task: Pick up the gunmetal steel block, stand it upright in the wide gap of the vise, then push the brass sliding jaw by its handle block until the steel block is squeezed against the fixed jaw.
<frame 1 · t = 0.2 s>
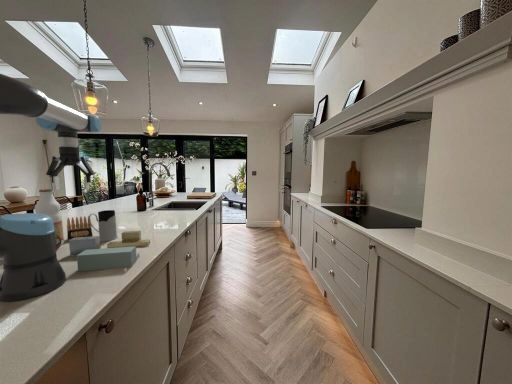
hand: (72, 189, 111), 27 cm above the worktop, tool pointing down, fingers open, 13 cm apart
ammunition clip: (80, 238, 121), on the worktop
grey mug: (103, 238, 120), on the worktop
tin: (41, 255, 97), on the worktop
sliding jaw: (130, 238, 109), point 3 cm above the worktop, slide at 0.0 cm
steel block: (85, 253, 99), on the worktop
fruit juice: (51, 245, 108), on the worktop
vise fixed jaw: (114, 260, 90), on the worktop
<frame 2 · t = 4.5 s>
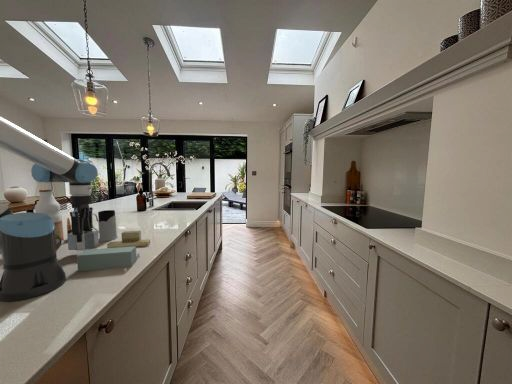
hand: (84, 247, 98), 3 cm above the worktop, tool pointing down, fingers closed on steel block, 4 cm apart
steel block: (84, 248, 98), point 3 cm above the worktop, touching gripper
everything else where it was.
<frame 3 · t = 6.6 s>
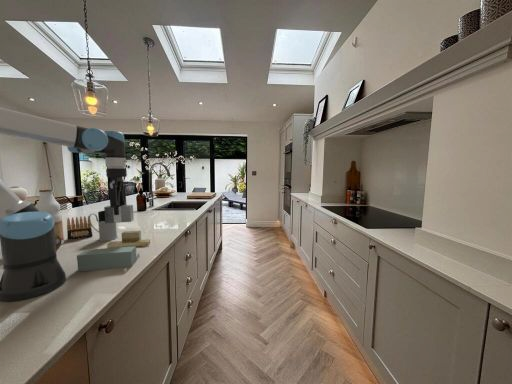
hand: (119, 220, 98), 15 cm above the worktop, tool pointing down, fingers closed on steel block, 4 cm apart
steel block: (119, 221, 98), point 14 cm above the worktop, touching gripper
everything else where it was.
when the fingers open (0 cm above the worktop, at t = 9.0 s): steel block stays where it is, on the worktop.
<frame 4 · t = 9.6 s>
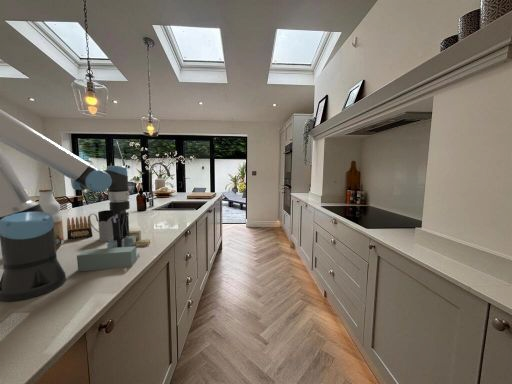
hand: (123, 251, 99), 0 cm above the worktop, tool pointing down, fingers open, 4 cm apart
steel block: (123, 252, 99), on the worktop
everything else where it was.
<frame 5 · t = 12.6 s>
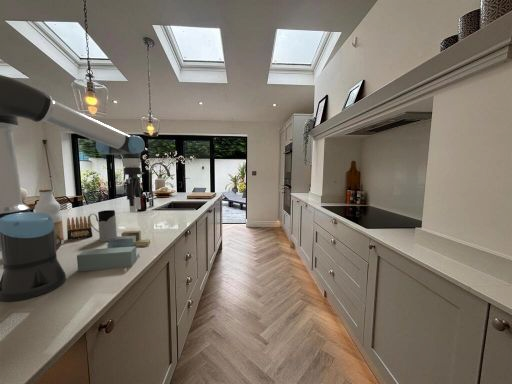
hand: (135, 210, 116), 16 cm above the worktop, tool pointing down, fingers open, 7 cm apart
nothing on the worktop moved.
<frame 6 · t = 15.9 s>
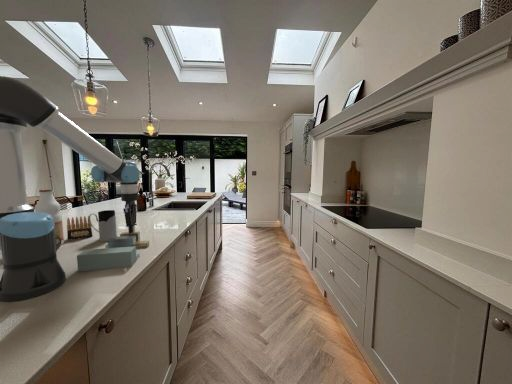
hand: (132, 238, 112), 2 cm above the worktop, tool pointing down, fingers closed
sliding jaw: (128, 240, 107), point 3 cm above the worktop, slide at 2.0 cm, touching gripper
everything else where it was.
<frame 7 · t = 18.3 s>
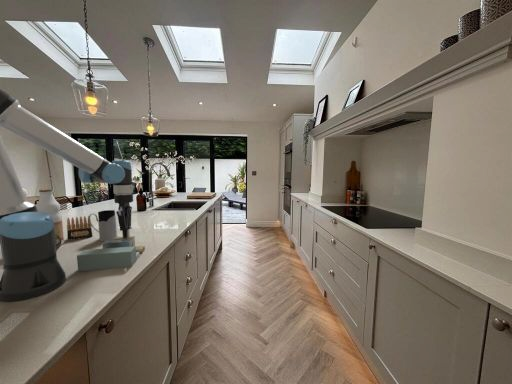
hand: (126, 243, 104), 2 cm above the worktop, tool pointing down, fingers closed
sliding jaw: (122, 245, 99), point 3 cm above the worktop, slide at 10.0 cm, touching gripper, steel block
steel block: (118, 256, 94), on the worktop, touching sliding jaw, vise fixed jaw
everything else where it was.
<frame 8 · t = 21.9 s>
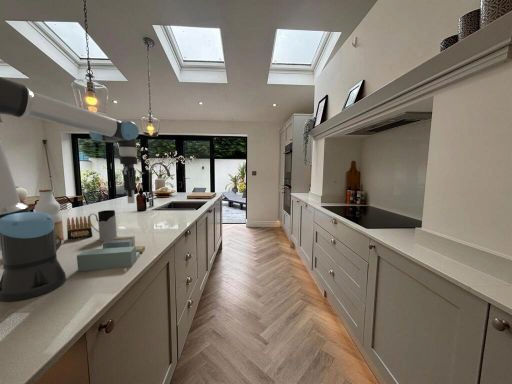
hand: (131, 203, 112), 20 cm above the worktop, tool pointing down, fingers closed
sliding jaw: (122, 245, 99), point 3 cm above the worktop, slide at 9.9 cm
steel block: (118, 256, 94), on the worktop
everything else where it was.
at the end: steel block 0.5 cm from the target spot, on the worktop; steel block tilted 0°; sliding jaw slide at 9.9 cm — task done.
